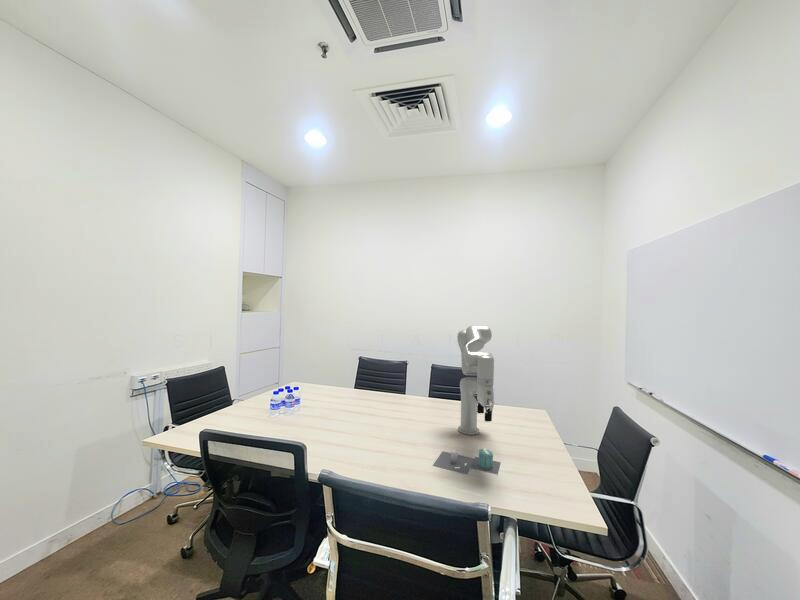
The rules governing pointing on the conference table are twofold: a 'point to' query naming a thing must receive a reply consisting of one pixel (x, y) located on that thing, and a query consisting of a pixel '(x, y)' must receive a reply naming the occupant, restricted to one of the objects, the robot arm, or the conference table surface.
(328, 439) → the conference table surface
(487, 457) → the cap
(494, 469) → the mat
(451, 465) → the post plate
